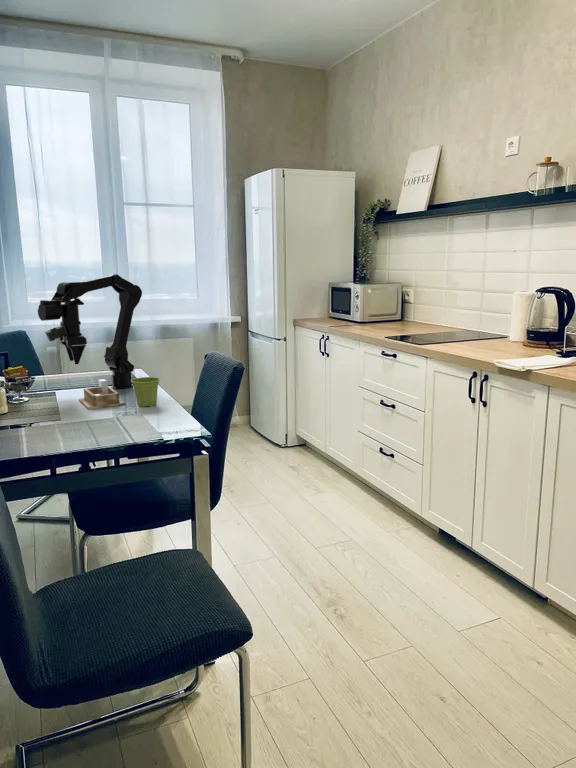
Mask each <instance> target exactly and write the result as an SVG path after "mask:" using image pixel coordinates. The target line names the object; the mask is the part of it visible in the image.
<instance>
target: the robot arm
mask: <svg viewBox="0 0 576 768" xmlns="http://www.w3.org/2000/svg"><path fill="white" fill-rule="evenodd" d="M110 287H111V288H112V289H113V290H114V291H115V292H116V293H117V294H118V301H119V305H120V309H119V315H118V319H117V322H116V328H115V332H114V338H113V342H112V344H111V345H110V346H106V348H105V352H104V353H105V354H104V355H103V358H104V363H105V364H106V366H107V367H108V369H109V371H111V372H112V374H111V377H110V378H111V386H112V387H113V388H114V389H115V390H118V389H128V388H129V389H130V388H134V386H133V384H132V382H131V380H132V373H133V372H134V369H135V365H134V364H133V363H131V361H130V360H129V351H128V349H127V344H128V338H129V334H130V330H131V326H132V320H133V316H134V310H135V309H136V308H137V306H138V305H139V303H140V300H141V298H142V295H143V291H142V288H141V287H140V286H139V285H137V284H134V283H132V282H131V281H129V280H127V279H125V278H123V277H121V276H120V275H119V274H114V273H113V274H112V273H110V274H108V275H105V276H100V277H96V278H92V279H87V280H82V281H64V282H59V283H58V285H57V287H56V291H55V293H54V295H53V296H52V298H51V300H46V299H45V300H44V299H42V300H39V305H38V309H37V315H38V318H39V320H40V321H43V322H44V321H57V320H60V319H61V321H60V322H59V323H60V325H59V326H56V327H53V328H51V329H49V330H47V331H45V336H46V337H47V339H48V341H50V342H53V341H55V340H56V339H58V341H59V342H60V344H62V345H63V346H64V347H65V350H66V353H67V355H68V359H69V361H71V362H73V361H74V365H79V363H80V361H81V358H82V356H83V353H84V351H85V348H86V346H87V344H88V343H87V342H88V341H87V338H86V337H85V336H84V335H83V334H82V332H81V324H82V322H81V320H80V312H79V311H80V310H79V306H83V305H84V304H85V303H84V302H83V301H82V300H81V299H80V297H83V296H84V295H85V294H86V293H89V292H94V291H96V290H102V289H107V288H110Z"/></svg>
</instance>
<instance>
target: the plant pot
mask: <svg viewBox="0 0 576 768" xmlns="http://www.w3.org/2000/svg"><path fill="white" fill-rule="evenodd" d="M160 380H161V379H160V377H156V376H155V377H154V376H144V377H142V376H141V377H137V378H131V382H132V385H133V391H134V395H135V399H136V402H137V403H136V404H137V406H138V407H144V408H145V407H153V406H156V405H157V402H158V401H157V400H158V388H159V387H158V386H159V383H160Z"/></svg>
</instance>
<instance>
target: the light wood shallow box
mask: <svg viewBox="0 0 576 768" xmlns="http://www.w3.org/2000/svg"><path fill="white" fill-rule="evenodd" d="M94 394H99V386H94V387H93V386H92V387H86V388H83V397H82V398H78V401H79V402H80V403H81V404H82V405H83V406H84V407H85V408H86V409H87V410H94V409H100V408H109V407H116V406H125V405H126V402H125V401H123V400H122V399H121V398H120V393H119V392H118V391H116V389H113V388H112V387H110V385H108V394H105V395H96V396H95V395H94Z"/></svg>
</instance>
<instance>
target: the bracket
mask: <svg viewBox="0 0 576 768" xmlns="http://www.w3.org/2000/svg"><path fill="white" fill-rule="evenodd" d="M97 382H98V387H99V394H94V395H95V396H96V395H105V394H108V386H109V385H108V380H107V379H105V378H102V379H98V381H97Z"/></svg>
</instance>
